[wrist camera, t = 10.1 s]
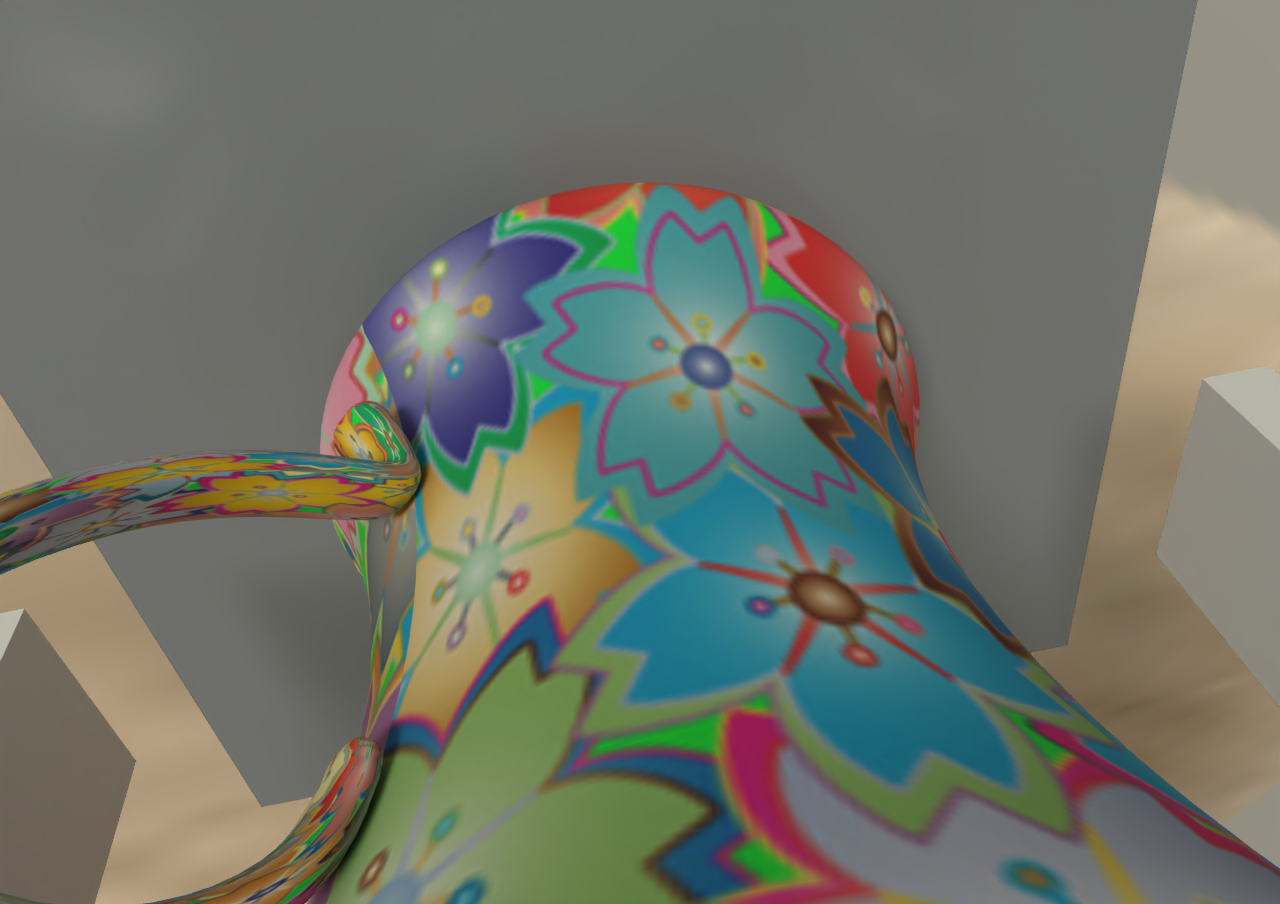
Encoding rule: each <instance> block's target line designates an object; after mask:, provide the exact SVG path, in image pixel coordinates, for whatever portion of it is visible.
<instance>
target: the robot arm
mask: <svg viewBox="0 0 1280 904" xmlns="http://www.w3.org/2000/svg"><path fill="white" fill-rule="evenodd" d="M1156 555H1157V556H1158V558H1159V559H1160V560H1161V561H1162V563H1163V564H1164V565H1165V566H1166V568H1167V569H1168V570H1169V571H1170V572H1171V574H1172V575H1173V576H1174V577H1175V579H1176V580H1177V581H1178V582H1179V584H1180V585H1181V586H1182V587H1183V589H1184V590H1185V591H1186V592H1187V594H1188V595H1189V596H1190V597H1191V598H1192V600H1193V601H1194V602H1195V603H1196V605H1197V606H1198V607H1199V608H1200V610H1201V611H1202V612H1203V613H1204V615H1205V616H1206V617H1207V618H1208V620H1209V621H1210V622H1211V623H1212V624H1213V626H1214V627H1215V628H1216V629H1217V631H1218V632H1219V633H1220V634H1221V636H1222V637H1223V638H1224V639H1225V641H1226V642H1227V643H1228V644H1229V646H1230V647H1231V648H1232V649H1233V650H1234V652H1235V653H1236V654H1237V655H1238V657H1239V658H1240V659H1241V660H1242V662H1243V663H1244V664H1245V665H1246V667H1247V668H1248V669H1249V670H1250V672H1251V673H1252V674H1253V675H1254V676H1255V678H1256V679H1257V680H1258V681H1259V683H1260V684H1261V685H1262V686H1263V688H1264V689H1265V690H1266V691H1267V693H1268V694H1269V695H1270V696H1271V698H1272V699H1273V700H1274V701H1275V702H1276V704H1277V705H1278V706H1279V707H1280V376H1279V375H1278V374H1277V373H1276V372H1275V371H1273V370H1272V369H1271V368H1270V367H1269V366H1264V367H1259V368H1254V369H1249V370H1244V371H1239V372H1234V373H1228V374H1223V375H1218V376H1213V377H1208V378H1203V379H1202V382H1201V386H1200V390H1199V394H1198V397H1197V401H1196V405H1195V409H1194V412H1193V416H1192V420H1191V424H1190V428H1189V431H1188V435H1187V439H1186V443H1185V447H1184V450H1183V454H1182V458H1181V462H1180V466H1179V469H1178V473H1177V477H1176V481H1175V485H1174V488H1173V492H1172V496H1171V500H1170V504H1169V507H1168V511H1167V515H1166V519H1165V523H1164V526H1163V530H1162V534H1161V538H1160V542H1159V545H1158V549H1157V553H1156ZM135 762H136V760H135V759H134V758H133V756H132V755H131V753H130V752H129V751H128V749H127V748H126V747H125V745H124V744H123V743H122V741H121V740H120V738H119V737H118V736H117V734H116V733H115V732H114V730H113V729H112V728H111V726H110V725H109V723H108V722H107V721H106V719H105V718H104V717H103V715H102V714H101V713H100V711H99V710H98V708H97V707H96V706H95V704H94V703H93V702H92V700H91V699H90V698H89V696H88V695H87V693H86V692H85V691H84V689H83V688H82V687H81V685H80V684H79V683H78V681H77V680H76V678H75V677H74V676H73V674H72V673H71V672H70V670H69V669H68V668H67V666H66V665H65V663H64V662H63V661H62V659H61V658H60V657H59V655H58V654H57V653H56V651H55V650H54V648H53V647H52V646H51V644H50V643H49V642H48V640H47V639H46V638H45V636H44V635H43V633H42V632H41V631H40V629H39V628H38V627H37V625H36V624H35V623H34V621H33V620H32V618H31V617H30V616H29V614H28V613H27V612H26V610H25V609H20V610H15V611H10V612H5V613H0V893H3V894H8V895H12V896H16V897H20V898H24V899H28V900H32V901H36V902H42V903H50V904H95V900H96V897H97V894H98V890H99V887H100V883H101V880H102V876H103V873H104V869H105V866H106V862H107V859H108V856H109V852H110V849H111V845H112V842H113V838H114V835H115V831H116V828H117V824H118V821H119V818H120V814H121V811H122V807H123V804H124V800H125V797H126V793H127V790H128V786H129V783H130V780H131V776H132V773H133V769H134V766H135Z"/></svg>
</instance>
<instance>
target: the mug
mask: <svg viewBox="0 0 1280 904" xmlns="http://www.w3.org/2000/svg"><path fill="white" fill-rule="evenodd" d="M919 424H920V398H919V389H918V380H917V374H916V369H915V365H914V360H913V356H912V352H911V348H910V345H909V342H908V340H907V337H906V334H905V332H904V329H903V326H902V324H901V322H900V320H899V319H898V317H897V315H896V313H895V311H894V309H893V307H892V305H891V303H890V302H889V300H888V299H887V298H886V296H885V295H884V293H883V292H882V290H881V289H880V288H879V286H878V285H877V283H876V282H875V281H874V280H873V279H872V277H871V276H870V275H869V274H868V273H867V272H866V271H865V270H864V269H863V268H862V266H861V265H860V264H859V263H858V262H857V261H856V260H855V259H853V258H852V257H851V256H850V255H849V254H848V253H847V252H845V251H844V250H843V249H842V248H841V247H840V246H838V245H837V244H836V243H835V242H833V241H832V240H830V239H829V238H827V237H826V236H824V235H823V234H821V233H820V232H818V231H817V230H815V229H814V228H813V227H811V226H809V225H807V224H805V223H803V222H802V221H800V220H798V219H796V218H794V217H792V216H790V215H788V214H786V213H785V212H783V211H781V210H778V209H776V208H773V207H771V206H768V205H766V204H763V203H761V202H758V201H756V200H753V199H750V198H746V197H743V196H739V195H736V194H732V193H728V192H725V191H721V190H716V189H710V188H704V187H698V186H693V185H684V184H671V183H657V182H649V183H618V184H609V185H601V186H592V187H585V188H580V189H576V190H571V191H566V192H562V193H557V194H552V195H549V196H546V197H543V198H540V199H536V200H533V201H530V202H527V203H524V204H520V205H518V206H515V207H513V208H511V209H508V210H506V211H504V212H501V213H499V214H496V215H494V216H492V217H489V218H487V219H485V220H483V221H482V222H480V223H478V224H476V225H474V226H472V227H470V228H469V229H467V230H465V231H463V232H461V233H459V234H458V235H456V236H455V237H453V238H452V239H450V240H449V241H447V242H446V243H444V244H443V245H441V246H440V247H438V248H437V249H435V250H434V251H432V252H431V253H430V254H428V255H427V256H426V257H425V258H424V259H422V260H421V261H420V262H419V263H418V264H416V265H415V266H414V267H413V268H411V269H410V270H409V271H408V272H407V273H406V274H405V275H404V276H403V277H402V278H401V279H400V280H399V281H398V282H397V283H396V284H395V285H394V286H393V287H392V288H391V289H390V290H389V291H388V292H387V293H386V294H385V295H384V296H383V298H382V299H381V300H380V301H379V303H378V304H377V305H376V306H375V308H374V309H373V310H372V312H371V313H370V314H369V315H368V317H367V318H366V319H365V321H364V322H363V323H362V325H361V327H360V328H359V330H358V331H357V333H356V335H355V336H354V338H353V339H352V341H351V343H350V344H349V346H348V348H347V349H346V351H345V354H344V356H343V358H342V360H341V362H340V364H339V366H338V369H337V371H336V373H335V375H334V378H333V381H332V384H331V387H330V390H329V394H328V397H327V400H326V404H325V410H324V415H323V420H322V425H321V439H320V454H314V453H303V452H289V451H273V450H218V451H198V452H187V453H177V454H166V455H159V456H152V457H146V458H139V459H132V460H126V461H121V462H116V463H111V464H107V465H102V466H97V467H92V468H88V469H83V470H79V471H74V472H71V473H67V474H64V475H60V476H56V477H53V478H49V479H45V480H42V481H38V482H35V483H31V484H28V485H26V486H23V487H20V488H17V489H14V490H11V491H8V492H5V493H2V494H0V574H3V573H5V572H7V571H10V570H12V569H15V568H17V567H19V566H22V565H24V564H26V563H29V562H31V561H33V560H36V559H39V558H41V557H44V556H47V555H50V554H53V553H56V552H59V551H61V550H64V549H67V548H70V547H73V546H76V545H79V544H83V543H86V542H90V541H93V540H97V539H100V538H104V537H107V536H111V535H114V534H119V533H123V532H128V531H132V530H137V529H142V528H146V527H151V526H157V525H163V524H170V523H176V522H183V521H192V520H204V519H215V518H235V517H290V518H312V519H332V521H333V524H334V527H335V530H336V532H337V534H338V536H339V538H340V540H341V542H342V544H343V546H344V549H345V550H346V552H347V554H348V555H349V557H350V558H351V560H352V562H353V563H354V565H355V566H356V568H357V570H358V571H359V572H360V573H361V575H362V576H363V579H364V582H365V586H366V590H367V593H368V599H369V607H370V617H371V628H372V646H371V669H370V681H369V690H368V698H367V704H366V710H365V715H364V721H363V727H362V732H361V736H360V737H357V738H355V739H353V740H352V741H350V742H349V743H347V744H346V745H345V746H344V747H343V748H342V749H341V750H340V751H339V752H338V753H337V755H336V756H335V757H334V758H333V760H332V761H331V763H330V764H329V766H328V768H327V769H326V771H325V773H324V775H323V777H322V780H321V783H320V785H319V788H318V790H317V792H316V793H315V795H314V797H313V798H312V800H311V802H310V803H309V805H308V807H307V808H306V810H305V811H304V813H303V814H302V816H301V818H300V819H299V821H298V822H297V824H296V825H295V827H294V829H293V830H292V831H291V832H290V834H289V835H288V836H287V837H286V839H285V840H284V841H283V842H282V843H281V844H280V845H279V846H278V847H277V848H276V849H275V850H274V851H273V852H272V853H270V854H269V855H268V856H266V857H265V858H264V859H263V860H261V861H260V862H258V863H256V864H255V865H253V866H251V867H250V868H248V869H246V870H245V871H243V872H242V873H240V874H238V875H236V876H234V877H232V878H230V879H227V880H225V881H223V882H221V883H219V884H217V885H214V886H212V887H209V888H206V889H203V890H200V891H197V892H194V893H191V894H188V895H184V896H180V897H175V898H171V899H166V900H162V901H157V902H153V903H145V904H304V903H306V902H307V901H308V902H307V904H1280V869H1279V868H1278V867H1277V866H1275V865H1274V864H1272V863H1271V862H1270V861H1268V860H1267V859H1265V858H1264V857H1263V856H1261V855H1260V854H1258V853H1257V852H1256V851H1254V850H1253V849H1252V848H1250V847H1249V846H1248V845H1246V844H1245V843H1244V842H1243V841H1241V840H1240V839H1239V838H1237V837H1236V836H1235V835H1233V834H1232V833H1231V832H1230V831H1228V830H1227V829H1226V828H1224V827H1223V826H1222V825H1220V824H1219V823H1218V822H1216V821H1215V820H1214V819H1213V818H1211V817H1210V816H1209V815H1207V814H1206V813H1205V812H1203V811H1202V810H1201V809H1200V808H1198V807H1197V806H1196V805H1194V804H1193V803H1192V802H1190V801H1189V800H1188V799H1187V798H1185V797H1184V796H1183V795H1182V794H1181V793H1179V792H1178V791H1177V790H1176V789H1175V788H1173V787H1172V786H1171V785H1170V784H1168V783H1167V782H1166V781H1165V780H1164V779H1162V778H1161V777H1160V776H1159V775H1157V774H1156V773H1155V772H1154V771H1153V770H1151V769H1150V768H1149V767H1148V766H1147V765H1145V764H1144V763H1143V762H1142V761H1141V760H1139V759H1138V758H1137V757H1136V756H1135V755H1134V754H1133V753H1132V752H1130V751H1129V750H1128V749H1127V748H1126V747H1125V746H1124V745H1123V744H1122V743H1120V742H1119V741H1118V740H1117V739H1116V738H1115V737H1114V736H1113V735H1112V734H1110V733H1109V732H1108V731H1107V730H1106V729H1105V728H1104V727H1103V726H1102V725H1100V724H1099V723H1098V722H1097V721H1096V720H1095V719H1094V718H1093V717H1092V716H1091V715H1090V714H1089V713H1088V712H1087V711H1086V710H1085V709H1084V708H1083V707H1082V706H1081V705H1080V704H1079V703H1078V702H1077V701H1076V700H1075V699H1074V698H1073V697H1072V696H1071V695H1070V694H1069V693H1068V692H1067V691H1066V690H1065V689H1064V688H1063V687H1062V686H1061V685H1060V684H1059V683H1058V682H1057V681H1056V680H1055V679H1054V678H1053V677H1052V676H1051V675H1050V674H1049V673H1048V672H1047V671H1046V670H1045V669H1044V668H1043V667H1042V666H1041V665H1040V664H1039V663H1038V662H1037V661H1036V660H1035V658H1034V657H1033V656H1032V655H1031V654H1030V653H1029V652H1028V651H1027V649H1026V648H1025V647H1024V646H1023V645H1022V644H1021V643H1020V641H1019V640H1018V639H1017V638H1016V637H1015V636H1014V635H1013V634H1012V632H1011V631H1010V630H1009V629H1008V628H1007V627H1006V625H1005V624H1004V623H1003V622H1002V620H1001V619H1000V618H999V617H998V615H997V614H996V613H995V611H994V610H993V609H992V608H991V606H990V605H989V604H988V602H987V601H986V600H985V599H984V597H983V596H982V595H981V593H980V592H979V590H978V589H977V588H976V586H975V585H974V583H973V582H972V580H971V579H970V577H969V576H968V575H967V573H966V572H965V570H964V569H963V567H962V566H961V564H960V563H959V561H958V559H957V558H956V556H955V555H954V553H953V551H952V550H951V548H950V546H949V544H948V543H947V541H946V539H945V537H944V535H943V533H942V531H941V529H940V527H939V525H938V523H937V521H936V519H935V517H934V515H933V513H932V511H931V508H930V506H929V504H928V501H927V499H926V496H925V493H924V490H923V487H922V484H921V481H920V478H919V474H918V470H917V464H916V459H915V452H916V447H917V440H918V432H919ZM0 904H50V903H42V902H36V901H32V900H28V899H24V898H20V897H16V896H12V895H8V894H3V893H0Z"/></svg>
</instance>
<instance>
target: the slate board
mask: <svg viewBox="0 0 1280 904" xmlns="http://www.w3.org/2000/svg"><path fill="white" fill-rule="evenodd" d="M1196 5H1197V0H0V394H1V396H2V397H3V399H4V400H5V402H6V404H7V405H8V407H9V408H10V410H11V411H12V413H13V415H14V416H15V418H16V419H17V421H18V423H19V424H20V426H21V427H22V429H23V430H24V432H25V434H26V435H27V437H28V438H29V440H30V442H31V443H32V445H33V446H34V448H35V449H36V451H37V453H38V454H39V456H40V457H41V459H42V460H43V462H44V464H45V465H46V467H47V468H48V470H49V472H50V473H51V475H52V476H53V477H56V476H60V475H64V474H67V473H71V472H74V471H79V470H83V469H88V468H92V467H97V466H102V465H107V464H111V463H116V462H121V461H126V460H132V459H139V458H146V457H152V456H159V455H166V454H177V453H187V452H198V451H218V450H273V451H289V452H303V453H314V454H320V439H321V425H322V420H323V415H324V410H325V404H326V400H327V397H328V394H329V390H330V387H331V384H332V381H333V378H334V375H335V373H336V371H337V369H338V366H339V364H340V362H341V360H342V358H343V356H344V354H345V351H346V349H347V348H348V346H349V344H350V343H351V341H352V339H353V338H354V336H355V335H356V333H357V331H358V330H359V328H360V327H361V325H362V323H363V322H364V321H365V319H366V318H367V317H368V315H369V314H370V313H371V312H372V310H373V309H374V308H375V306H376V305H377V304H378V303H379V301H380V300H381V299H382V298H383V296H384V295H385V294H386V293H387V292H388V291H389V290H390V289H391V288H392V287H393V286H394V285H395V284H396V283H397V282H398V281H399V280H400V279H401V278H402V277H403V276H404V275H405V274H406V273H407V272H408V271H409V270H410V269H411V268H413V267H414V266H415V265H416V264H418V263H419V262H420V261H421V260H422V259H424V258H425V257H426V256H427V255H428V254H430V253H431V252H432V251H434V250H435V249H437V248H438V247H440V246H441V245H443V244H444V243H446V242H447V241H449V240H450V239H452V238H453V237H455V236H456V235H458V234H459V233H461V232H463V231H465V230H467V229H469V228H470V227H472V226H474V225H476V224H478V223H480V222H482V221H483V220H485V219H487V218H489V217H492V216H494V215H496V214H499V213H501V212H504V211H506V210H508V209H511V208H513V207H515V206H518V205H520V204H524V203H527V202H530V201H533V200H536V199H540V198H543V197H546V196H549V195H552V194H557V193H562V192H566V191H571V190H576V189H580V188H585V187H592V186H601V185H609V184H618V183H649V182H657V183H671V184H684V185H693V186H698V187H704V188H710V189H716V190H721V191H725V192H728V193H732V194H736V195H739V196H743V197H746V198H750V199H753V200H756V201H758V202H761V203H763V204H766V205H768V206H771V207H773V208H776V209H778V210H781V211H783V212H785V213H786V214H788V215H790V216H792V217H794V218H796V219H798V220H800V221H802V222H803V223H805V224H807V225H809V226H811V227H813V228H814V229H815V230H817V231H818V232H820V233H821V234H823V235H824V236H826V237H827V238H829V239H830V240H832V241H833V242H835V243H836V244H837V245H838V246H840V247H841V248H842V249H843V250H844V251H845V252H847V253H848V254H849V255H850V256H851V257H852V258H853V259H855V260H856V261H857V262H858V263H859V264H860V265H861V266H862V268H863V269H864V270H865V271H866V272H867V273H868V274H869V275H870V276H871V277H872V279H873V280H874V281H875V282H876V283H877V285H878V286H879V288H880V289H881V290H882V292H883V293H884V295H885V296H886V298H887V299H888V300H889V302H890V303H891V305H892V307H893V309H894V311H895V313H896V315H897V317H898V319H899V320H900V322H901V324H902V326H903V329H904V332H905V334H906V337H907V340H908V342H909V345H910V348H911V352H912V356H913V360H914V365H915V369H916V374H917V380H918V389H919V398H920V424H919V432H918V440H917V447H916V452H915V459H916V464H917V470H918V474H919V478H920V481H921V484H922V487H923V490H924V493H925V496H926V499H927V501H928V504H929V506H930V508H931V511H932V513H933V515H934V517H935V519H936V521H937V523H938V525H939V527H940V529H941V531H942V533H943V535H944V537H945V539H946V541H947V543H948V544H949V546H950V548H951V550H952V551H953V553H954V555H955V556H956V558H957V559H958V561H959V563H960V564H961V566H962V567H963V569H964V570H965V572H966V573H967V575H968V576H969V577H970V579H971V580H972V582H973V583H974V585H975V586H976V588H977V589H978V590H979V592H980V593H981V595H982V596H983V597H984V599H985V600H986V601H987V602H988V604H989V605H990V606H991V608H992V609H993V610H994V611H995V613H996V614H997V615H998V617H999V618H1000V619H1001V620H1002V622H1003V623H1004V624H1005V625H1006V627H1007V628H1008V629H1009V630H1010V631H1011V632H1012V634H1013V635H1014V636H1015V637H1016V638H1017V639H1018V640H1019V641H1020V643H1021V644H1022V645H1023V646H1024V647H1025V648H1026V649H1027V651H1028V652H1029V653H1030V652H1035V651H1040V650H1045V649H1050V648H1055V647H1059V646H1064V645H1067V643H1068V638H1069V633H1070V628H1071V623H1072V618H1073V613H1074V608H1075V603H1076V598H1077V593H1078V588H1079V583H1080V578H1081V573H1082V568H1083V563H1084V558H1085V554H1086V549H1087V544H1088V539H1089V534H1090V529H1091V524H1092V519H1093V514H1094V509H1095V504H1096V499H1097V494H1098V489H1099V484H1100V479H1101V474H1102V470H1103V465H1104V460H1105V455H1106V450H1107V445H1108V440H1109V435H1110V430H1111V425H1112V420H1113V415H1114V410H1115V405H1116V400H1117V395H1118V390H1119V385H1120V381H1121V376H1122V371H1123V366H1124V361H1125V356H1126V351H1127V346H1128V341H1129V336H1130V331H1131V326H1132V321H1133V316H1134V311H1135V306H1136V301H1137V297H1138V292H1139V287H1140V282H1141V277H1142V272H1143V267H1144V262H1145V257H1146V252H1147V247H1148V242H1149V237H1150V232H1151V227H1152V222H1153V217H1154V212H1155V208H1156V203H1157V198H1158V193H1159V188H1160V183H1161V178H1162V173H1163V168H1164V163H1165V158H1166V153H1167V148H1168V143H1169V138H1170V133H1171V128H1172V123H1173V119H1174V113H1175V109H1176V104H1177V99H1178V94H1179V89H1180V84H1181V79H1182V74H1183V69H1184V64H1185V59H1186V54H1187V49H1188V44H1189V39H1190V34H1191V30H1192V24H1193V19H1194V15H1195V9H1196ZM93 541H94V543H95V544H96V546H97V547H98V549H99V551H100V552H101V554H102V555H103V557H104V559H105V560H106V562H107V563H108V565H109V566H110V568H111V570H112V571H113V573H114V574H115V576H116V577H117V579H118V581H119V582H120V584H121V585H122V587H123V589H124V590H125V592H126V593H127V595H128V596H129V598H130V600H131V601H132V603H133V604H134V606H135V608H136V609H137V611H138V612H139V614H140V615H141V617H142V619H143V620H144V622H145V623H146V625H147V626H148V628H149V630H150V631H151V633H152V634H153V636H154V638H155V639H156V641H157V642H158V644H159V645H160V647H161V649H162V650H163V652H164V653H165V655H166V657H167V658H168V660H169V661H170V663H171V664H172V666H173V668H174V669H175V671H176V672H177V674H178V675H179V677H180V679H181V680H182V682H183V683H184V685H185V687H186V688H187V690H188V691H189V693H190V694H191V696H192V698H193V699H194V701H195V702H196V704H197V706H198V707H199V709H200V710H201V712H202V713H203V715H204V717H205V718H206V720H207V721H208V723H209V724H210V726H211V728H212V729H213V731H214V732H215V734H216V736H217V737H218V739H219V740H220V742H221V743H222V745H223V747H224V748H225V750H226V751H227V753H228V755H229V756H230V758H231V759H232V761H233V762H234V764H235V766H236V767H237V769H238V770H239V772H240V773H241V775H242V777H243V778H244V780H245V781H246V783H247V785H248V786H249V788H250V789H251V791H252V792H253V794H254V796H255V797H256V799H257V800H258V802H259V804H260V805H261V807H264V806H269V805H274V804H279V803H284V802H289V801H294V800H299V799H304V798H309V797H314V795H315V793H316V792H317V790H318V788H319V785H320V783H321V780H322V777H323V775H324V773H325V771H326V769H327V768H328V766H329V764H330V763H331V761H332V760H333V758H334V757H335V756H336V755H337V753H338V752H339V751H340V750H341V749H342V748H343V747H344V746H345V745H346V744H347V743H349V742H350V741H352V740H353V739H355V738H357V737H360V736H361V732H362V727H363V721H364V715H365V710H366V704H367V698H368V690H369V681H370V669H371V646H372V628H371V617H370V607H369V599H368V593H367V590H366V586H365V582H364V579H363V576H362V575H361V573H360V572H359V571H358V570H357V568H356V566H355V565H354V563H353V562H352V560H351V558H350V557H349V555H348V554H347V552H346V550H345V549H344V546H343V544H342V542H341V540H340V538H339V536H338V534H337V532H336V530H335V527H334V524H333V521H332V519H312V518H290V517H235V518H215V519H204V520H192V521H183V522H176V523H170V524H163V525H157V526H151V527H146V528H142V529H137V530H132V531H128V532H123V533H119V534H114V535H111V536H107V537H104V538H100V539H97V540H93Z"/></svg>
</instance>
